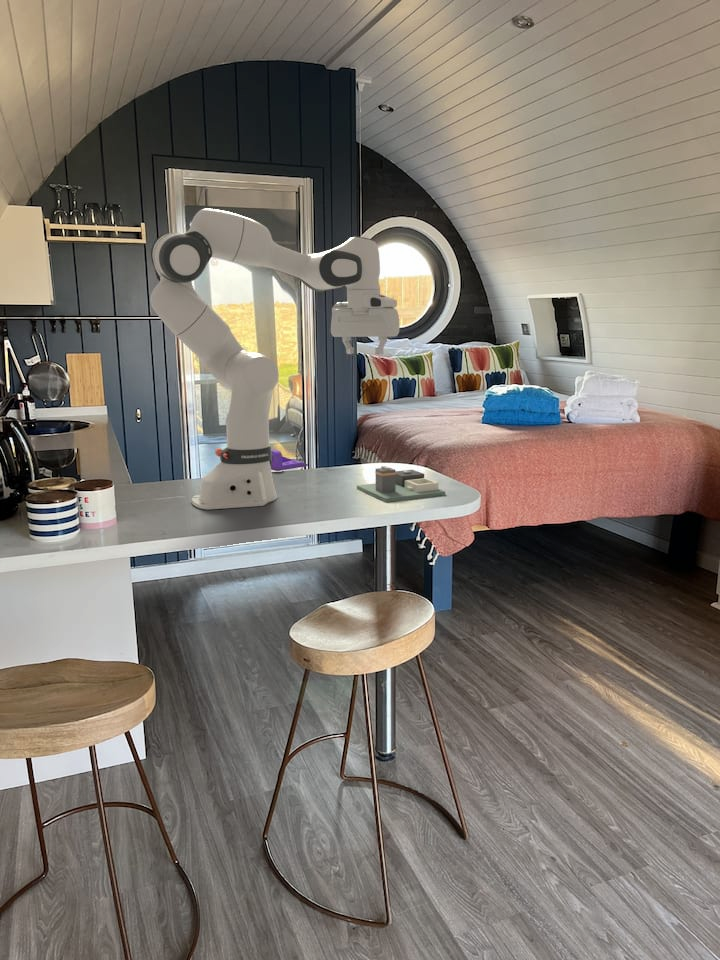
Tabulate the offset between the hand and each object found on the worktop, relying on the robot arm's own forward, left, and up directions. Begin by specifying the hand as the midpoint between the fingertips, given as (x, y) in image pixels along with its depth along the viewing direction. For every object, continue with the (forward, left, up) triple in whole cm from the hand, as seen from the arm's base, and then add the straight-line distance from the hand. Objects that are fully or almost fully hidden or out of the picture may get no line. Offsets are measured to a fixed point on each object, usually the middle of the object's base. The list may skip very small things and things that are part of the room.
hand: (364, 354), depth 201 cm
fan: (+12, -2, -36) cm, 38 cm away
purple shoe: (-9, +40, -38) cm, 56 cm away
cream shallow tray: (+12, -10, -37) cm, 41 cm away
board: (+7, -7, -37) cm, 39 cm away
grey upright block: (+2, -8, -36) cm, 37 cm away
